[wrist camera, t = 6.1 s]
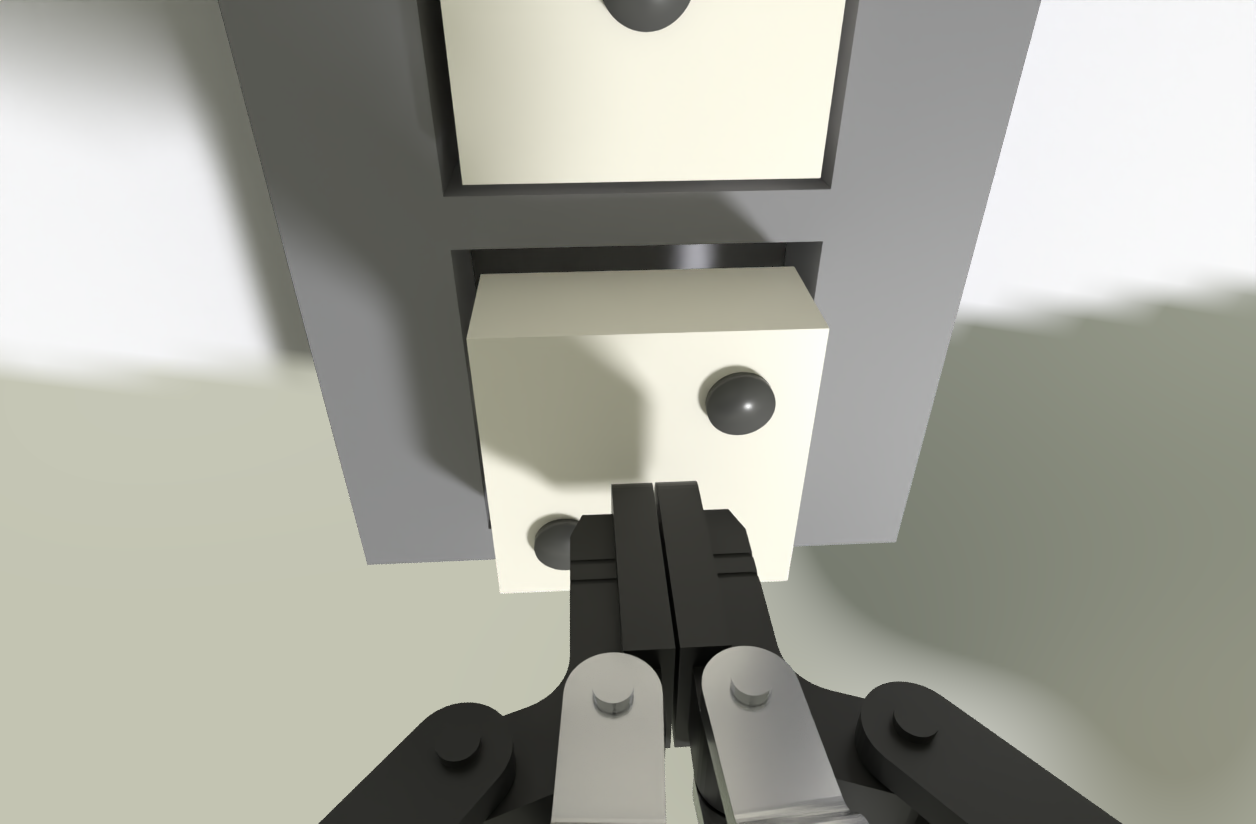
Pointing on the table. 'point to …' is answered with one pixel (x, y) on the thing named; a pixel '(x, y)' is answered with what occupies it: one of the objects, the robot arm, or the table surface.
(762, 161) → the tile one
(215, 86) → the table surface
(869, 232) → the grey tile tray
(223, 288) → the table surface
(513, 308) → the tile two
